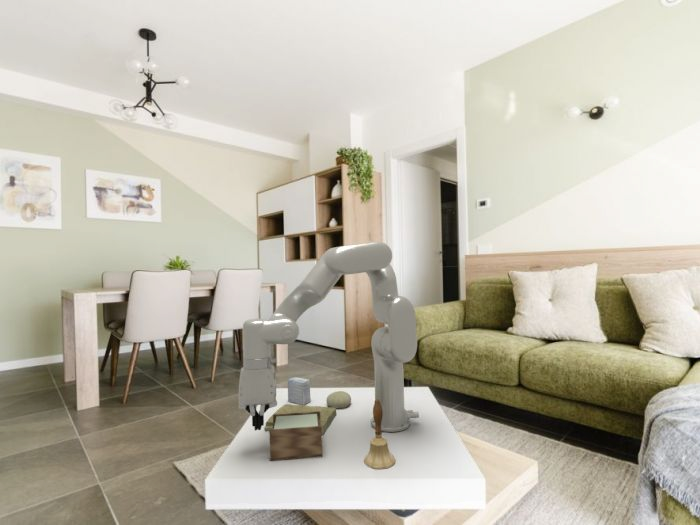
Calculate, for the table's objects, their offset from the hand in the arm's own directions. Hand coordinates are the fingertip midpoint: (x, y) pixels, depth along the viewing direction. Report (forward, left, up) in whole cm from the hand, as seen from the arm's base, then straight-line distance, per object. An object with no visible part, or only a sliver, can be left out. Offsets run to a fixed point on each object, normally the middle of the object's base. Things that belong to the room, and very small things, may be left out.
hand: (258, 428), depth 103 cm
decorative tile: (-12, -18, -7) cm, 23 cm away
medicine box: (-11, -38, -7) cm, 40 cm away
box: (-11, 0, -7) cm, 13 cm away
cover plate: (-11, 0, -1) cm, 11 cm away
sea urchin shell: (-26, -32, -7) cm, 42 cm away
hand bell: (-33, +10, -7) cm, 35 cm away
